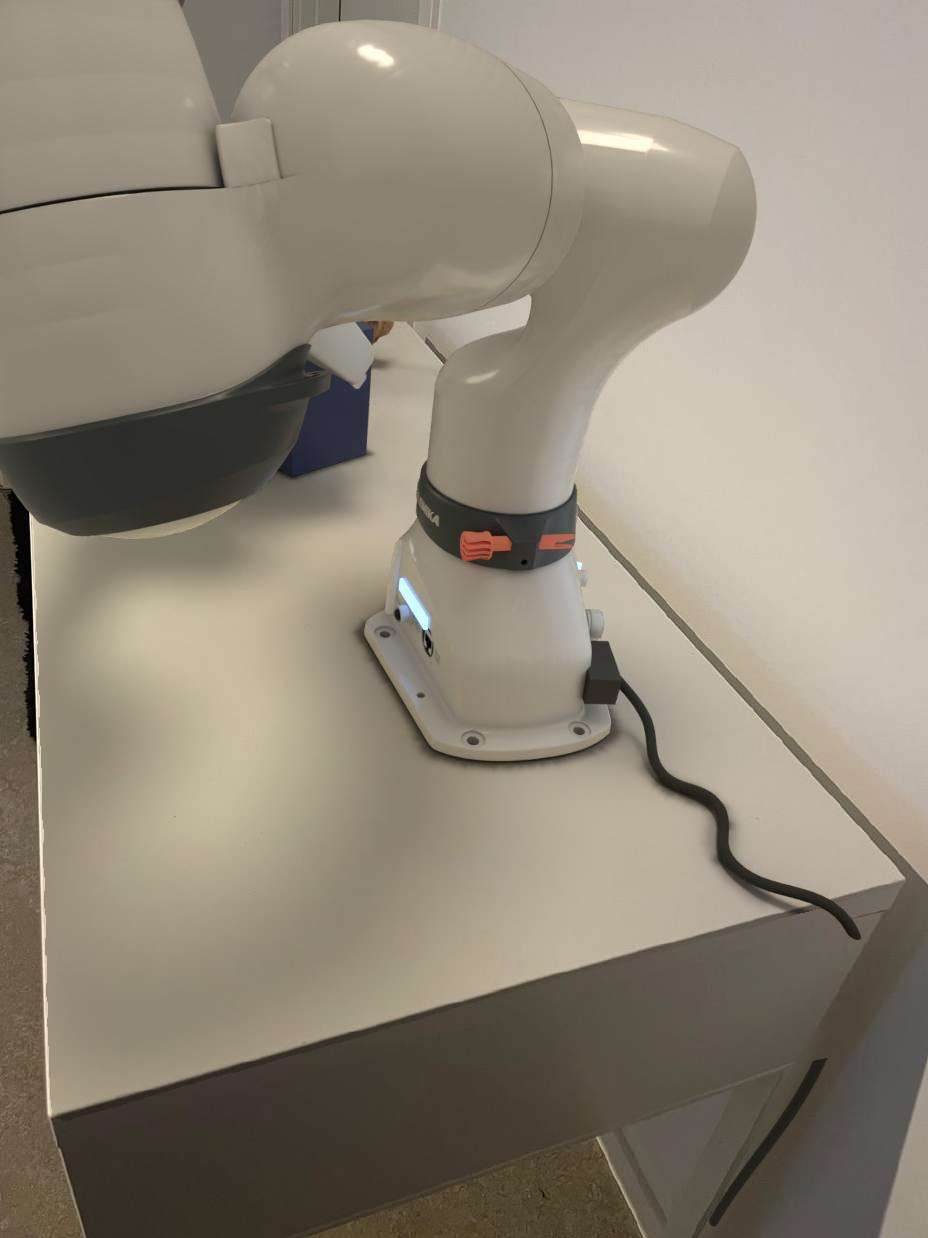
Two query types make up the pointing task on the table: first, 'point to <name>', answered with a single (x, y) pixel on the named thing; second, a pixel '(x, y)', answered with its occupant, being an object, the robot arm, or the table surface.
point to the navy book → (332, 423)
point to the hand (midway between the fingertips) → (329, 365)
